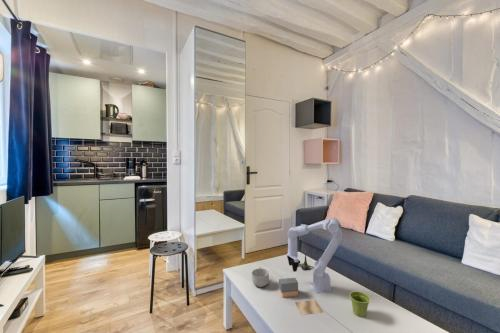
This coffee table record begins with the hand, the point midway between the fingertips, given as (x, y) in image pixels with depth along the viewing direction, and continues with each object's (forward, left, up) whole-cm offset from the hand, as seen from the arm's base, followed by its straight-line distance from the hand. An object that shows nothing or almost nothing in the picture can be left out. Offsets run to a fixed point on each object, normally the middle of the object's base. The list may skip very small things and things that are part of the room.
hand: (292, 268), depth 143 cm
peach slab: (+6, +10, -10) cm, 15 cm away
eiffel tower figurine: (-15, -17, -11) cm, 25 cm away
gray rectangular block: (+6, +10, -7) cm, 14 cm away
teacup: (+20, -4, -10) cm, 23 cm away
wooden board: (-1, +23, -10) cm, 25 cm away
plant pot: (-25, +31, -10) cm, 41 cm away
